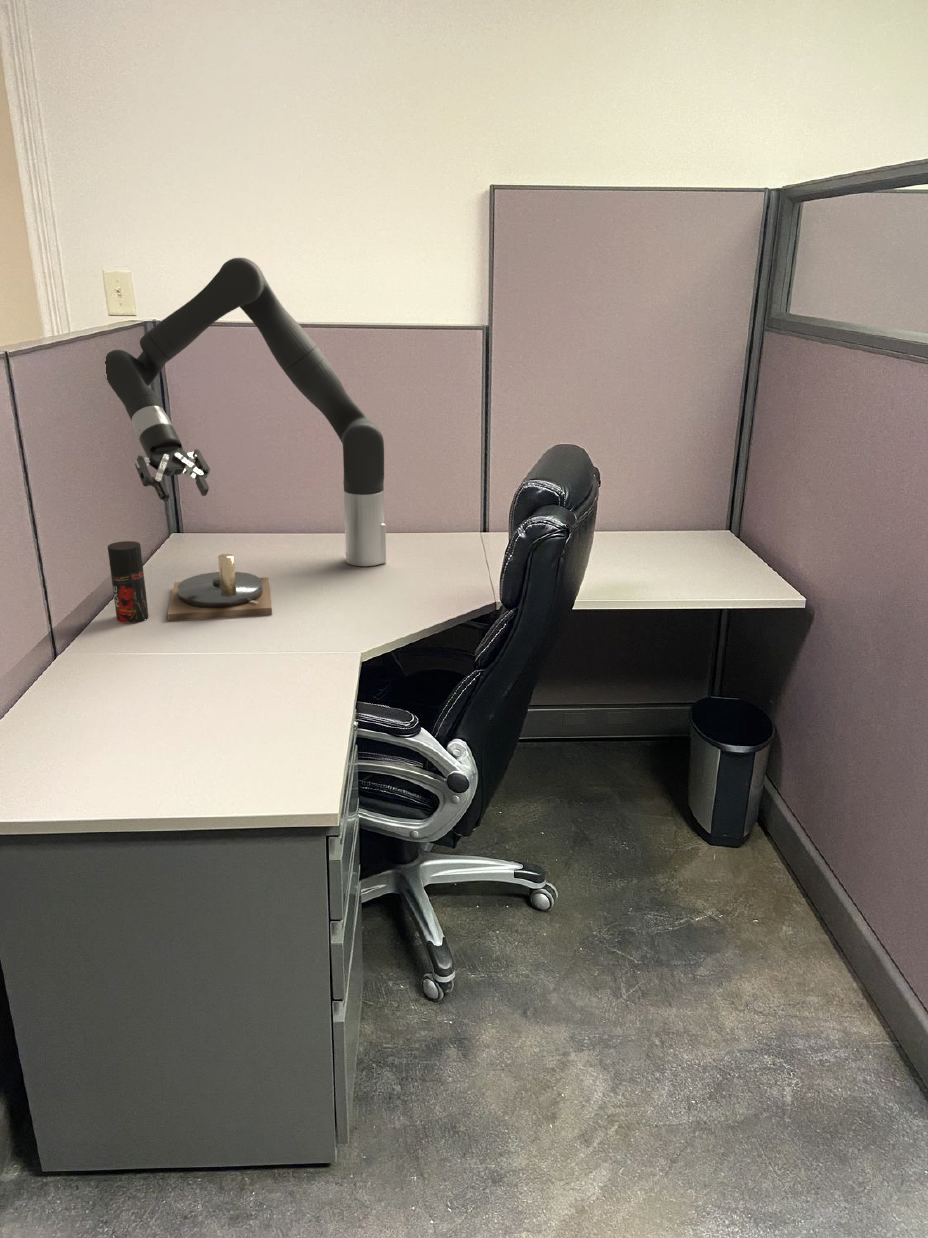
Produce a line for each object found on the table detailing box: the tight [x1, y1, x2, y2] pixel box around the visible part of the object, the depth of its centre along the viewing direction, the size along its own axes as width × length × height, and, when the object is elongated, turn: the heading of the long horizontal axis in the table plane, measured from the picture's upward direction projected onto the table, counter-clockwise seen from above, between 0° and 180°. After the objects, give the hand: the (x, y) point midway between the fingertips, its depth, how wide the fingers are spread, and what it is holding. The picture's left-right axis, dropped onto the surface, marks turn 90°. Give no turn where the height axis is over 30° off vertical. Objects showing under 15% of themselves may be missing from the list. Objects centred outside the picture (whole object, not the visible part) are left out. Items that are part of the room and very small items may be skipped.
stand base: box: [167, 576, 273, 622], centre depth 191 cm, size 20×20×2 cm
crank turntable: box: [178, 553, 263, 607], centre depth 189 cm, size 17×17×10 cm
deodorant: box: [107, 540, 149, 625], centre depth 179 cm, size 6×6×15 cm
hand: (186, 496), depth 189 cm, fingers open, 8 cm apart
